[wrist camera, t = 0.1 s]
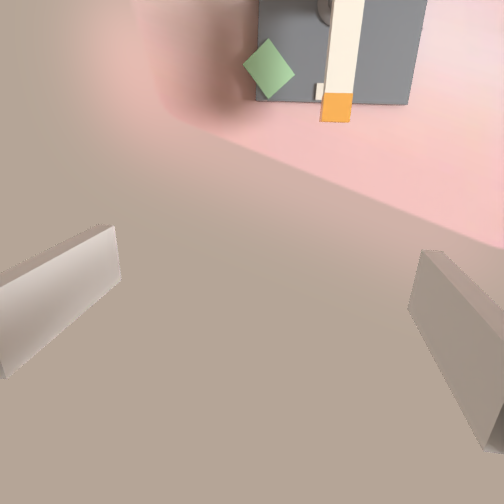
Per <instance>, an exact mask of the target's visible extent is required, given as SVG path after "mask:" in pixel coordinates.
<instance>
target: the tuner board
mask: <svg viewBox="0 0 504 504" xmlns="http://www.w3.org/2000/svg"><path fill="white" fill-rule="evenodd" d="M426 5H427V0H365V3H364V10H363V18H362V25H361V33H360V40H359V48H358V56H357V63H356V71H355V78H354V86H353V99H352V104H380V105H408V100H409V94H410V89H411V84H412V78H413V73H414V68H415V63H416V57H417V52H418V47H419V42H420V36H421V31H422V26H423V20H424V15H425V10H426ZM330 18H331V10H330V8H329V5H328V0H259V20H258V49H257V50H256V51H255V52H254V53H253V54H252V55H251V56H250V57H249V58H248V59H247V60H246V61H245V62H244V63H243V66H244V67H245V68H246V70H247V71H248V72H249V74H250V75H251V76H252V78H253V79H254V80H255V82H256V101H273V102H309V103H321V101H322V96H323V87H324V77H325V67H326V57H327V48H328V38H329V28H330Z"/></svg>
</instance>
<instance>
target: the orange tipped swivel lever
mask: <svg viewBox="0 0 504 504" xmlns="http://www.w3.org/2000/svg"><path fill="white" fill-rule="evenodd" d="M364 3H365V0H328V5H329V8H330V10H331V18H330V28H329V38H328V48H327V57H326V67H325V77H324V87H323V96H322V101H321V111H320V120H319V122H341V123H345V122H350V114H351V107H352V99H353V86H354V78H355V71H356V63H357V56H358V48H359V40H360V33H361V25H362V18H363V10H364Z"/></svg>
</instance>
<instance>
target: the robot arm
mask: <svg viewBox="0 0 504 504" xmlns="http://www.w3.org/2000/svg"><path fill="white" fill-rule="evenodd" d="M121 280H122V279H121V272H120V264H119V258H118V249H117V242H116V234H115V226H114V225H105V224H98V225H96V226H94V227H92V228H90V229H88V230H86V231H84V232H82V233H80V234H78V235H76V236H74V237H72V238H70V239H68V240H66V241H63V242H61V243H59V244H57V245H56V246H53V247H51V248H49V249H47V250H45V251H43V252H41V253H39V254H37V255H35V256H33V257H31V258H29V259H27V260H25V261H23V262H22V263H19V264H18V265H15V266H13V267H11V268H9V269H7V270H5V271H3V272H1V273H0V378H2V379H7V378H8V377H10V376H11V375H12V374H13V373H14V372H15V371H17V370H18V369H19V368H20V367H21V366H22V365H24V364H25V363H26V362H27V361H28V360H29V359H31V358H32V357H33V356H34V355H35V354H36V353H37V352H39V351H40V350H41V349H42V348H43V347H44V346H46V345H47V344H48V343H49V342H50V341H51V340H53V339H54V338H55V337H56V336H57V335H58V334H60V333H61V332H62V331H63V330H64V329H65V328H67V326H69V325H70V324H71V323H72V322H73V321H75V320H76V319H77V318H78V317H79V316H80V315H82V314H83V313H84V312H85V311H86V310H87V309H88V308H90V307H91V306H92V305H93V304H94V303H95V302H97V301H98V300H99V299H100V298H101V297H102V296H103V295H105V294H106V293H107V292H108V291H109V290H111V288H113V287H114V286H115V285H116V284H118V283H119V282H120V281H121ZM408 311H409V313H410V315H411V317H412V319H413V320H414V322H415V324H416V326H417V328H418V330H419V332H420V334H421V336H422V337H423V339H424V341H425V343H426V345H427V347H428V349H429V351H430V352H431V354H432V356H433V358H434V360H435V362H436V363H437V365H438V367H439V369H440V371H441V373H442V375H443V377H444V379H445V380H446V382H447V384H448V386H449V388H450V390H451V392H452V394H453V396H454V397H455V399H456V401H457V403H458V405H459V407H460V409H461V410H462V412H463V414H464V416H465V418H466V420H467V422H468V424H469V425H470V427H471V429H472V431H473V433H474V435H475V437H476V439H477V441H478V442H479V444H480V446H481V448H482V450H483V451H485V452H492V453H498V454H504V310H503V309H501V308H500V307H499V306H498V305H497V304H496V303H495V302H494V301H493V300H492V299H491V298H490V297H489V296H488V295H487V294H486V293H485V292H484V291H483V290H482V289H481V288H480V287H479V286H478V285H477V284H476V283H475V282H473V281H472V280H471V279H470V278H469V277H468V276H467V275H466V274H465V273H464V272H463V271H462V270H461V269H460V268H459V267H458V266H457V265H456V264H455V263H454V262H453V261H452V260H451V259H449V257H448V256H447V255H446V254H445V253H444V252H442V251H434V250H421V255H420V259H419V263H418V267H417V271H416V276H415V280H414V284H413V288H412V292H411V296H410V301H409V305H408Z"/></svg>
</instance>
